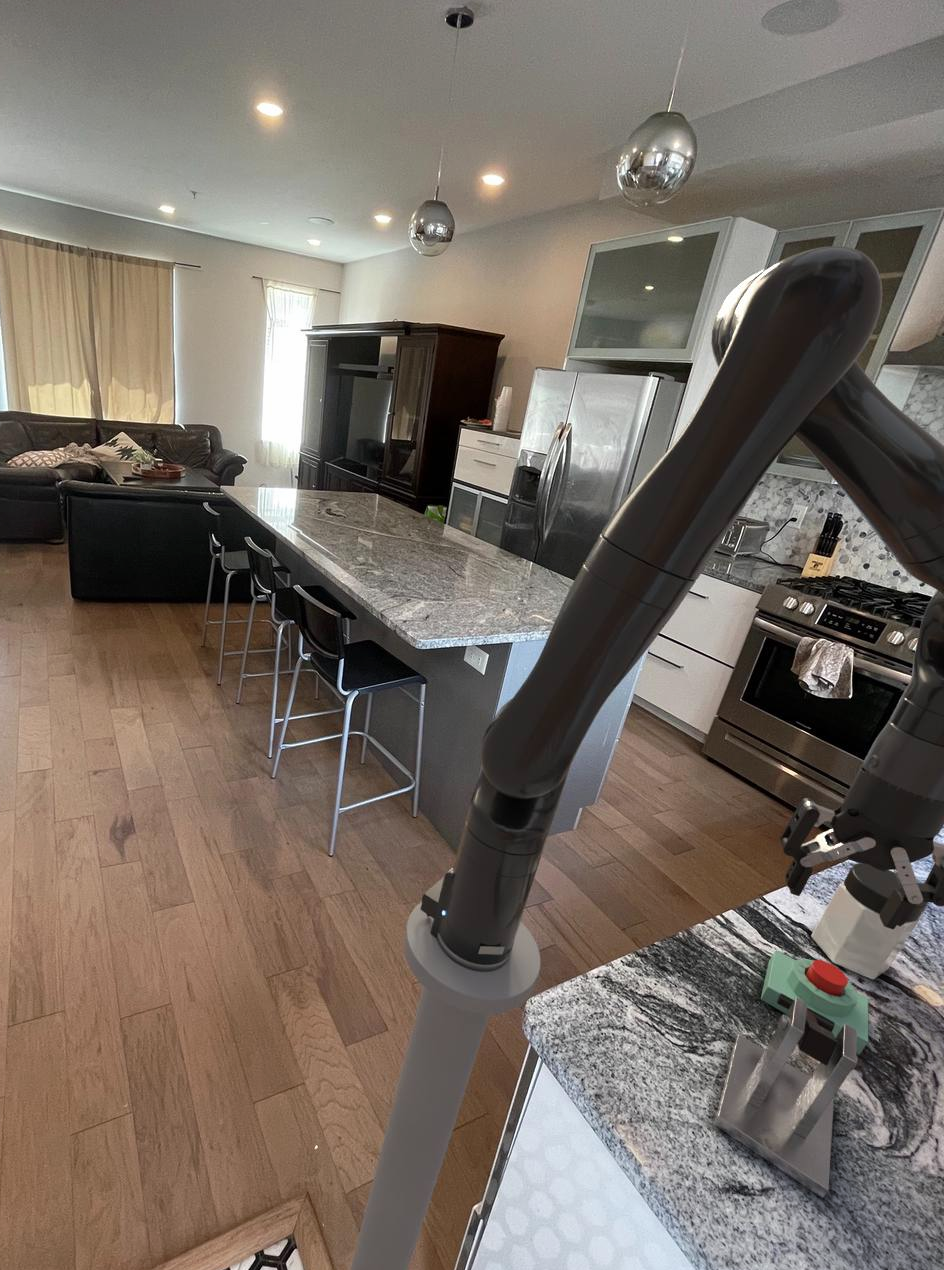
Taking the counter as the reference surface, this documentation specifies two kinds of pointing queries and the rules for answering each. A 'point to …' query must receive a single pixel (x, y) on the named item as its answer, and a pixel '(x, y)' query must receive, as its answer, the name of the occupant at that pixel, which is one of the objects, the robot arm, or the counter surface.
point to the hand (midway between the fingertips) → (838, 906)
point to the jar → (863, 923)
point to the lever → (814, 1033)
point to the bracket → (786, 1100)
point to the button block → (815, 996)
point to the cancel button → (827, 977)
